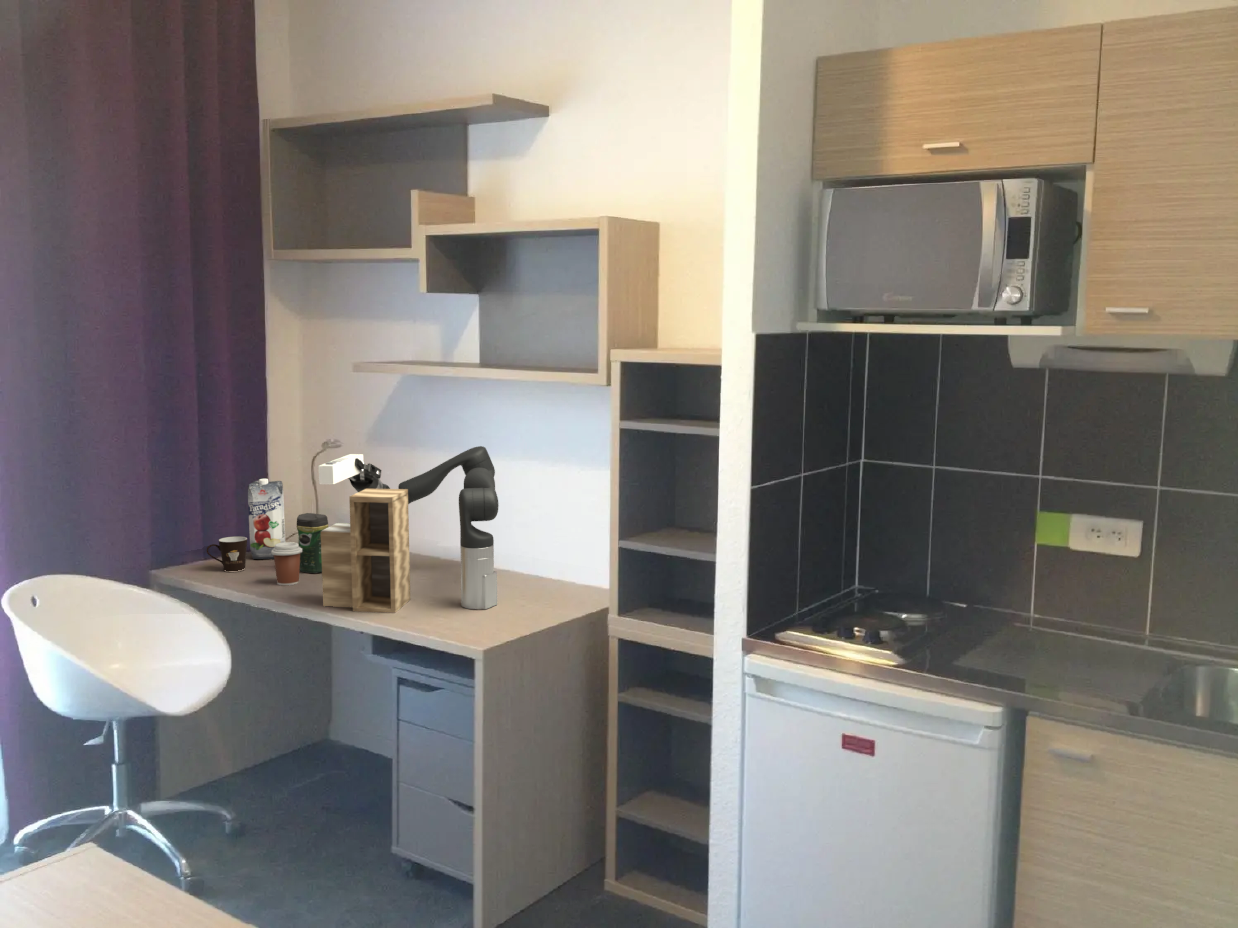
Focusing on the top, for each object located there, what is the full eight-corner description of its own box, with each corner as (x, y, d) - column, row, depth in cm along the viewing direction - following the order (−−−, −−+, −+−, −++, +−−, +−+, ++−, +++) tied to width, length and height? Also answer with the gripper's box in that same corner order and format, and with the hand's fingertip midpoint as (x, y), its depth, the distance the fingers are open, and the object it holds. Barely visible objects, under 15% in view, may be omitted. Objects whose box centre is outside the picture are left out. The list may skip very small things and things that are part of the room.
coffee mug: (253, 567, 350) (251, 536, 349) (241, 573, 342) (239, 542, 341) (218, 566, 352) (217, 536, 350) (206, 572, 343) (204, 541, 342)
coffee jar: (334, 569, 347) (332, 512, 344) (316, 575, 340) (314, 516, 337) (311, 566, 351) (309, 510, 349) (293, 571, 344) (291, 514, 342)
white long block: (350, 471, 316) (349, 452, 315) (363, 471, 315) (363, 453, 315) (319, 484, 292) (318, 464, 291) (333, 484, 292) (332, 464, 291)
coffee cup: (306, 579, 334) (305, 541, 333) (300, 586, 325) (298, 547, 324) (276, 579, 334) (274, 541, 332) (269, 586, 325) (267, 547, 323)
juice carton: (256, 554, 369) (252, 476, 365) (287, 554, 369) (284, 476, 366) (248, 560, 360) (245, 480, 356) (281, 560, 360) (277, 480, 357)
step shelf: (338, 595, 315) (335, 486, 311) (412, 597, 312) (409, 488, 308) (317, 610, 299) (313, 495, 295) (395, 612, 297) (392, 497, 292)
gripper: (345, 470, 326) (326, 448, 310) (391, 471, 324) (374, 449, 309) (341, 494, 323) (321, 473, 307) (388, 495, 322) (370, 473, 306)
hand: (348, 461), depth 308 cm, fingers closed on white long block, 4 cm apart
